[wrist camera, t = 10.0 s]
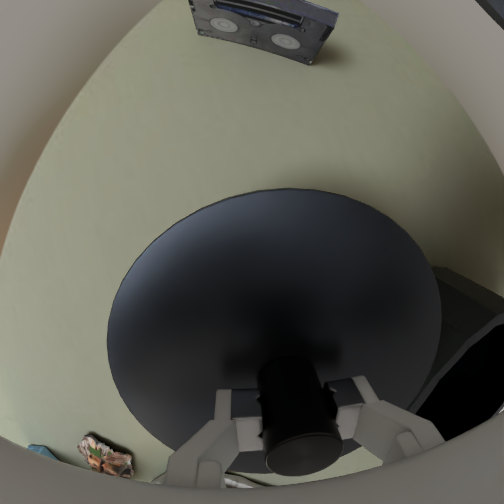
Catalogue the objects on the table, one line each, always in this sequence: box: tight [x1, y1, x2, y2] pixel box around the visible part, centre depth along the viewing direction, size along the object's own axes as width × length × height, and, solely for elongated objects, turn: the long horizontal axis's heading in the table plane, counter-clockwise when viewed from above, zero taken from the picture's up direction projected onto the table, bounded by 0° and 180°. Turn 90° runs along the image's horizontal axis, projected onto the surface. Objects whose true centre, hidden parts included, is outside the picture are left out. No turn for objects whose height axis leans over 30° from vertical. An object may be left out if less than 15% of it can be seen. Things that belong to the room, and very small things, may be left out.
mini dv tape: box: [188, 0, 339, 65], centre depth 13 cm, size 8×2×6 cm, turn 72°
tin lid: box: [107, 188, 442, 476], centre depth 9 cm, size 15×15×5 cm
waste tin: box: [405, 267, 504, 442], centre depth 18 cm, size 14×14×10 cm
